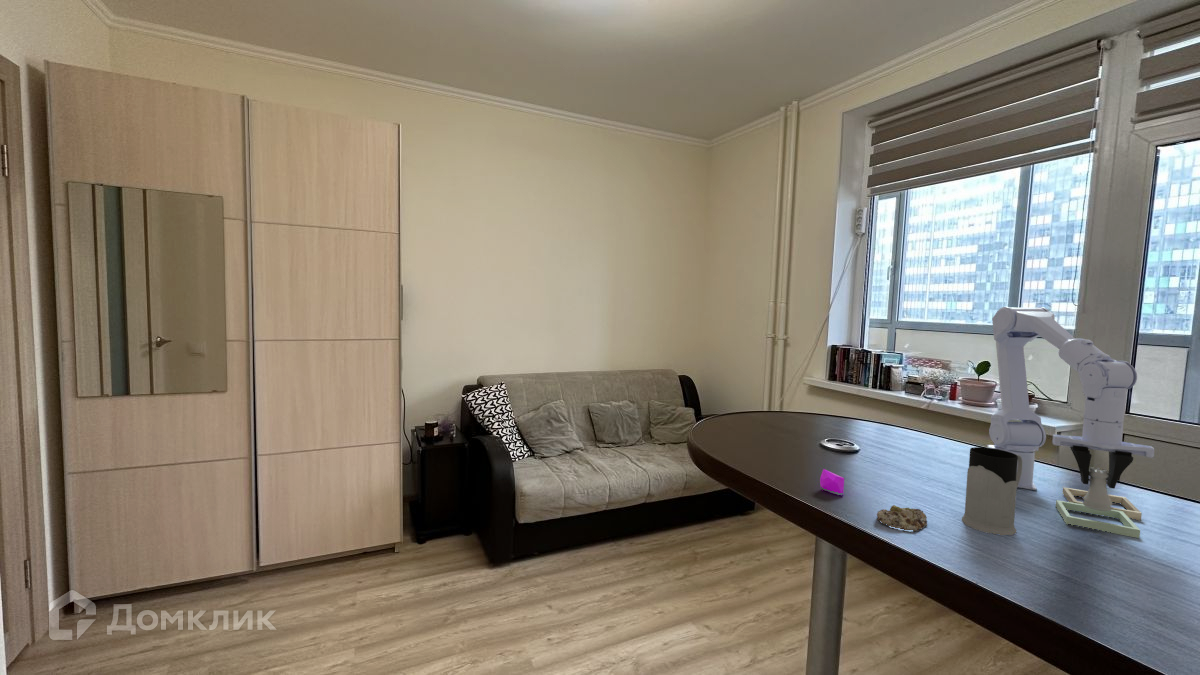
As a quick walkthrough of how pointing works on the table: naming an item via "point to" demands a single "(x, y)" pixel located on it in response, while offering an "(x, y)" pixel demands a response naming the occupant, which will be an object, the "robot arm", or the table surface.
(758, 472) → the table surface
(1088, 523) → the sage square frame
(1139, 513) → the beige square frame
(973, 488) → the beige black oval cylinder
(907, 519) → the mineral rock
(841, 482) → the crystal
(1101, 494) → the rook chess piece
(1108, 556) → the table surface
